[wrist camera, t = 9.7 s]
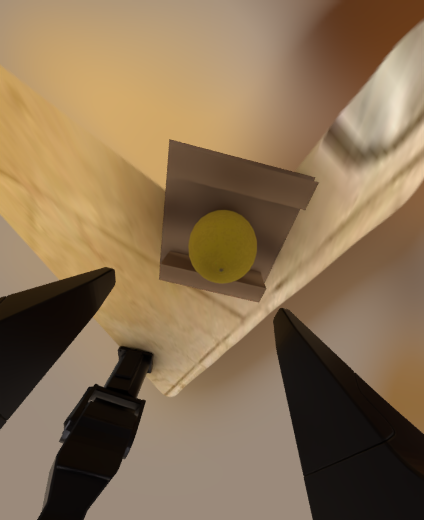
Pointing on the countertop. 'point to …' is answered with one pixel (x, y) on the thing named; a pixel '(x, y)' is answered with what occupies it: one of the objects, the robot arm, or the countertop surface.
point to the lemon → (222, 246)
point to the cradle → (233, 199)
